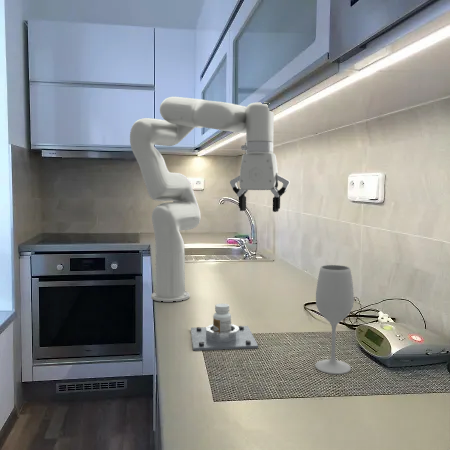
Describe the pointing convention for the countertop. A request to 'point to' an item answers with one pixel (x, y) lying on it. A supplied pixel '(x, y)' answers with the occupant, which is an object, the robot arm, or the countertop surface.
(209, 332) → the duct collar
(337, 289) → the wineglass
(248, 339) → the flange plate
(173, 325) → the countertop surface
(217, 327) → the pill bottle
